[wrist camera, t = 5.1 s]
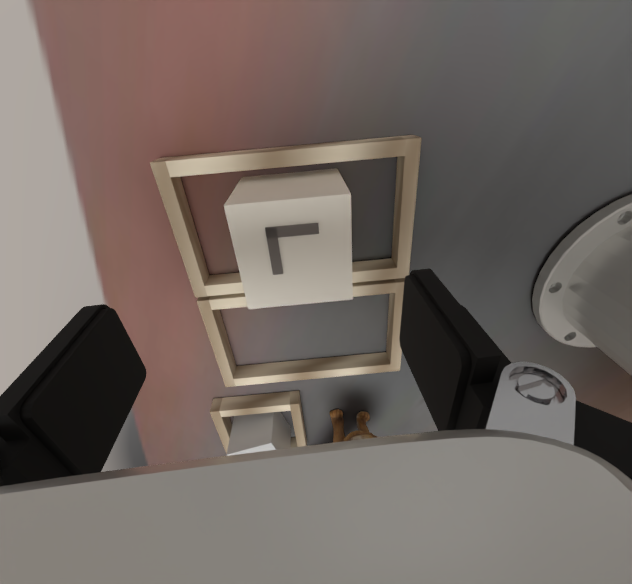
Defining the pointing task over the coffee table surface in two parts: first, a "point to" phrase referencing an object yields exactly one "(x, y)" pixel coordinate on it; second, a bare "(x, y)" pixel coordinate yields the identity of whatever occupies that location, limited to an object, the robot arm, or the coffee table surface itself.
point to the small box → (258, 412)
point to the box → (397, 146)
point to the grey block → (259, 433)
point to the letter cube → (292, 237)
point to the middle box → (308, 367)
